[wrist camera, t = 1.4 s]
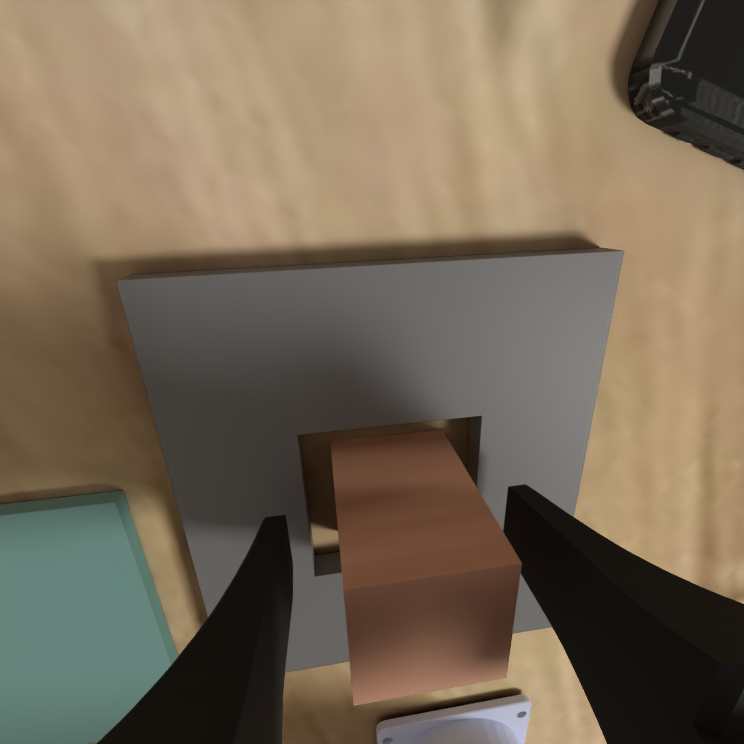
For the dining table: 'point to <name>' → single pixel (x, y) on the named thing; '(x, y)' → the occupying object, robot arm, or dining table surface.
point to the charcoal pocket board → (364, 392)
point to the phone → (694, 75)
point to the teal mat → (75, 619)
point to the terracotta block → (420, 568)
